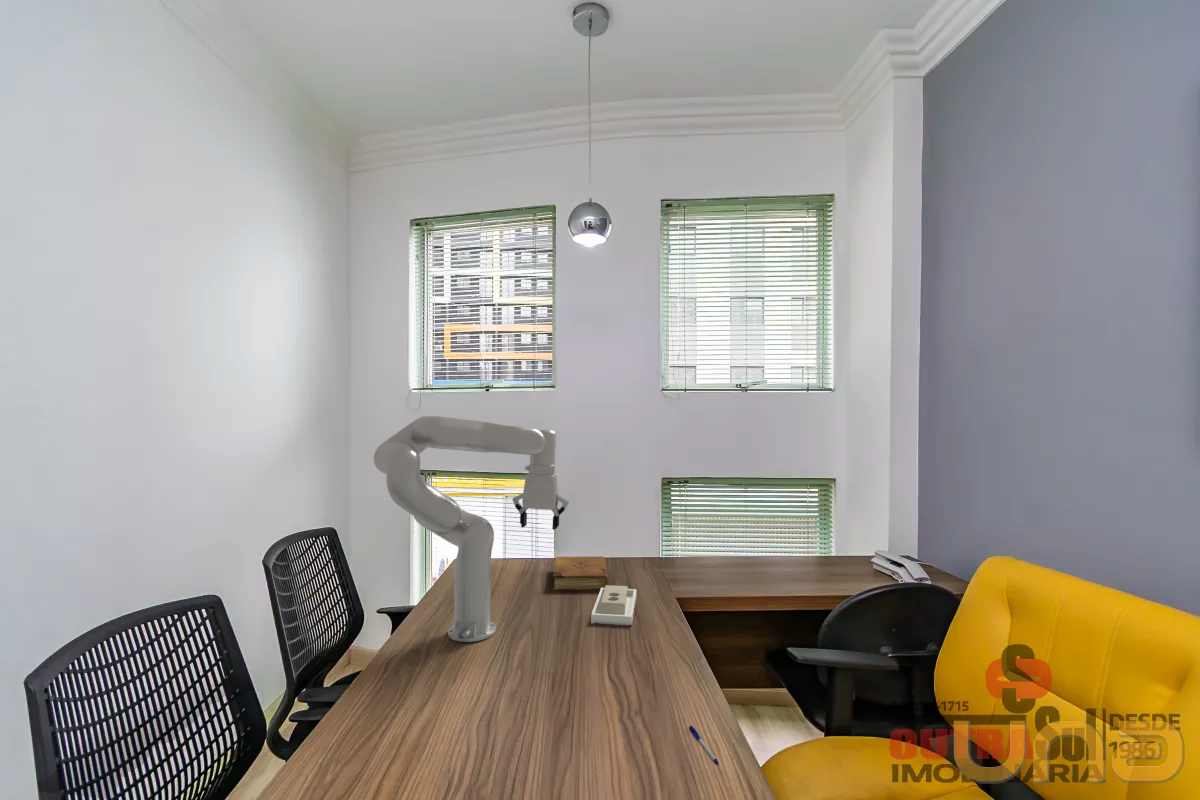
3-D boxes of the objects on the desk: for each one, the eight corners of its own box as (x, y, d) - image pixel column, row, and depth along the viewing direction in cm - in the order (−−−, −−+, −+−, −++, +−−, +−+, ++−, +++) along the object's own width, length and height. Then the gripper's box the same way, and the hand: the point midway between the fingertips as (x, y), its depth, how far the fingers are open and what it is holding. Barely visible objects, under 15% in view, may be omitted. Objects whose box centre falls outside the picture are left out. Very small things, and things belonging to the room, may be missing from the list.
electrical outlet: (627, 583, 166) (624, 603, 148) (627, 595, 166) (624, 617, 148) (605, 582, 167) (600, 602, 149) (605, 594, 167) (599, 616, 149)
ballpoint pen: (687, 729, 97) (687, 724, 97) (691, 728, 97) (691, 723, 97) (716, 766, 87) (716, 760, 87) (720, 764, 87) (720, 759, 87)
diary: (608, 592, 173) (608, 575, 173) (552, 593, 172) (552, 575, 172) (605, 571, 196) (605, 555, 196) (556, 571, 195) (556, 556, 195)
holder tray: (631, 625, 144) (631, 616, 144) (591, 623, 146) (591, 614, 146) (636, 597, 166) (636, 589, 167) (601, 595, 168) (601, 587, 168)
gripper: (510, 469, 152) (507, 527, 151) (567, 473, 149) (564, 532, 148) (518, 468, 159) (515, 523, 158) (572, 471, 157) (570, 527, 156)
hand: (539, 527), depth 153 cm, fingers open, 9 cm apart
